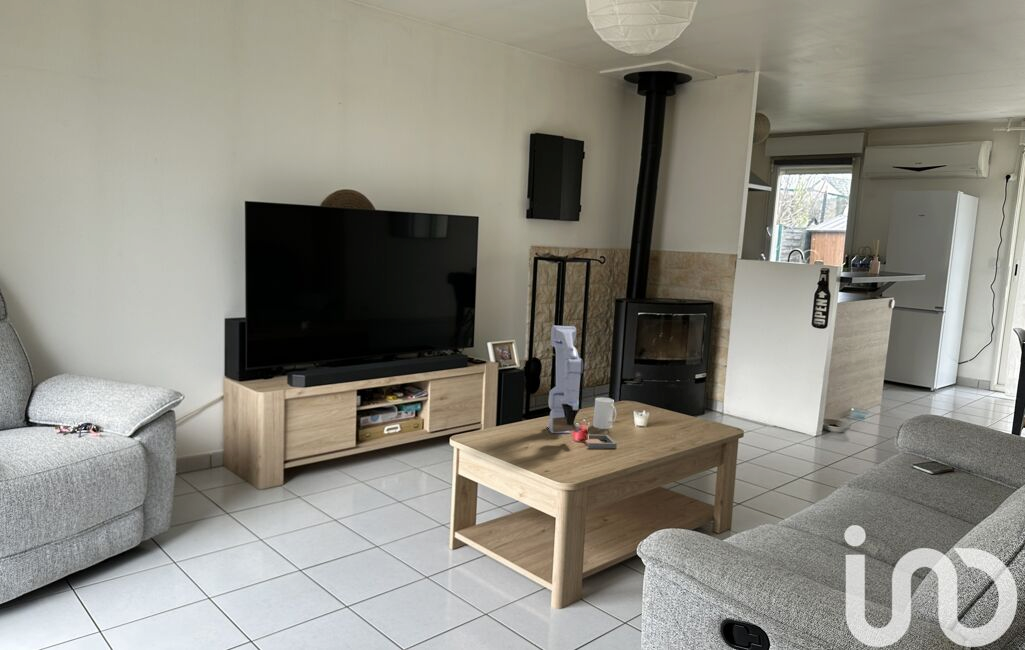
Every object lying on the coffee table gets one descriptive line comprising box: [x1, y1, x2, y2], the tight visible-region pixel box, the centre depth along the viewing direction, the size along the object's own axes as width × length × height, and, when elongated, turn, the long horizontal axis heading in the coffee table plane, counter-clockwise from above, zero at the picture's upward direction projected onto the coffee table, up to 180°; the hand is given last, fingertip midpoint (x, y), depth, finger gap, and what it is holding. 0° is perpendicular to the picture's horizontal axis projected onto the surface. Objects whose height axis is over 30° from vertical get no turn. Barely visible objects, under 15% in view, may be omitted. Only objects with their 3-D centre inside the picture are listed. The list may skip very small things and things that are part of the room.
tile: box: [584, 439, 603, 447], centre depth 283 cm, size 6×6×2 cm
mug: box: [592, 397, 617, 430], centre depth 308 cm, size 12×8×12 cm
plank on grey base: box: [552, 417, 579, 433], centre depth 279 cm, size 8×9×5 cm
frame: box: [588, 434, 618, 449], centre depth 283 cm, size 12×11×2 cm
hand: (569, 423), depth 280 cm, fingers closed on plank on grey base, 2 cm apart
